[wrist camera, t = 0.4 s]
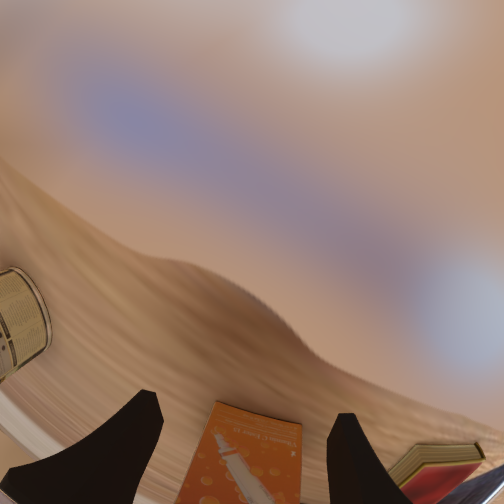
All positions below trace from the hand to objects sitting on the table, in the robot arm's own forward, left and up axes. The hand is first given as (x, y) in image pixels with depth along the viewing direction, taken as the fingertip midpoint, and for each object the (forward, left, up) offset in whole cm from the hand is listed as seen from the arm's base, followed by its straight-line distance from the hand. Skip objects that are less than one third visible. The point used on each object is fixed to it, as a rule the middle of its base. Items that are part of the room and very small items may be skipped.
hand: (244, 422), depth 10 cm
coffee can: (-14, +23, -10) cm, 29 cm away
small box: (-12, -4, -10) cm, 16 cm away
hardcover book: (-17, -28, -11) cm, 34 cm away
